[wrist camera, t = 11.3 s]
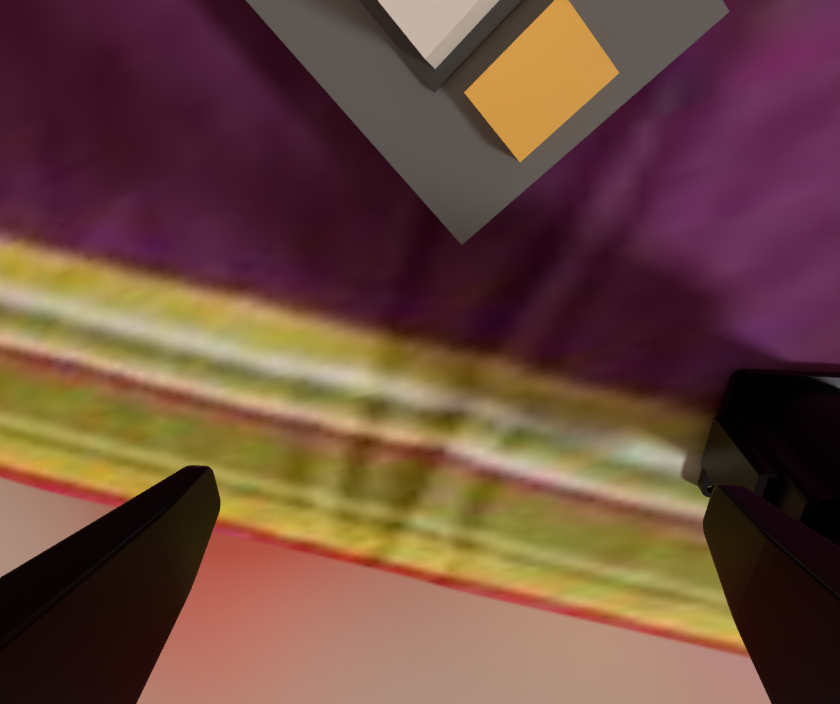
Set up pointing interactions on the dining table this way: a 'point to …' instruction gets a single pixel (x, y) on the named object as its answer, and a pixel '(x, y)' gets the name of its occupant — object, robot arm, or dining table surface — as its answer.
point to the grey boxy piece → (482, 81)
